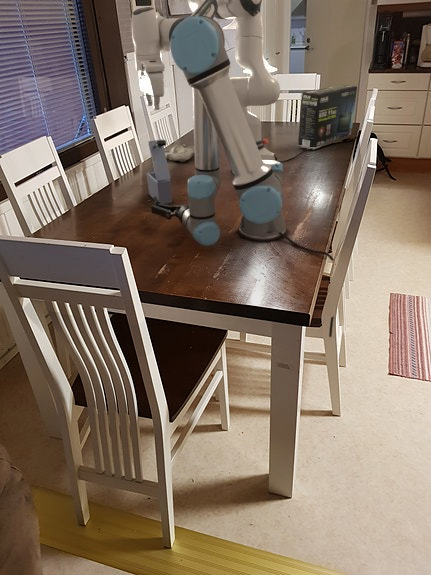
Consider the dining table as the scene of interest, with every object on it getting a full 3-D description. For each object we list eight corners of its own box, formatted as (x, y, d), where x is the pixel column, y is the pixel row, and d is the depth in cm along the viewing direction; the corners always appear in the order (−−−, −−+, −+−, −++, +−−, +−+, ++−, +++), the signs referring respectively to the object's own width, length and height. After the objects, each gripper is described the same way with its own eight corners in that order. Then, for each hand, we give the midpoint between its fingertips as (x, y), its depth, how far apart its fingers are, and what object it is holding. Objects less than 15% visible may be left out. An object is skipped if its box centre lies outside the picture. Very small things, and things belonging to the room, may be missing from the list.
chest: (148, 194, 185) (146, 173, 181) (161, 191, 187) (159, 171, 183) (159, 204, 174) (157, 182, 170) (172, 202, 176) (170, 180, 172)
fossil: (184, 156, 217) (163, 136, 220) (174, 174, 223) (154, 154, 227) (205, 153, 231) (186, 134, 234) (195, 171, 237) (176, 152, 240)
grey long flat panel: (147, 142, 168) (153, 136, 161) (161, 140, 170) (167, 134, 162) (156, 181, 170) (162, 177, 162) (169, 179, 172) (175, 175, 164)
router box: (314, 151, 231) (318, 94, 217) (296, 148, 237) (299, 92, 224) (352, 138, 251) (358, 85, 238) (335, 135, 258) (340, 83, 245)
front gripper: (155, 235, 144) (140, 212, 161) (229, 222, 151) (207, 201, 168) (153, 213, 140) (137, 192, 157) (228, 200, 147) (206, 181, 164)
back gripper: (132, 62, 161) (137, 104, 168) (146, 67, 145) (151, 113, 152) (150, 61, 163) (154, 102, 170) (166, 65, 147) (169, 111, 154)
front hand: (173, 197), depth 162 cm, fingers open, 13 cm apart
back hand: (153, 107), depth 161 cm, fingers open, 8 cm apart
